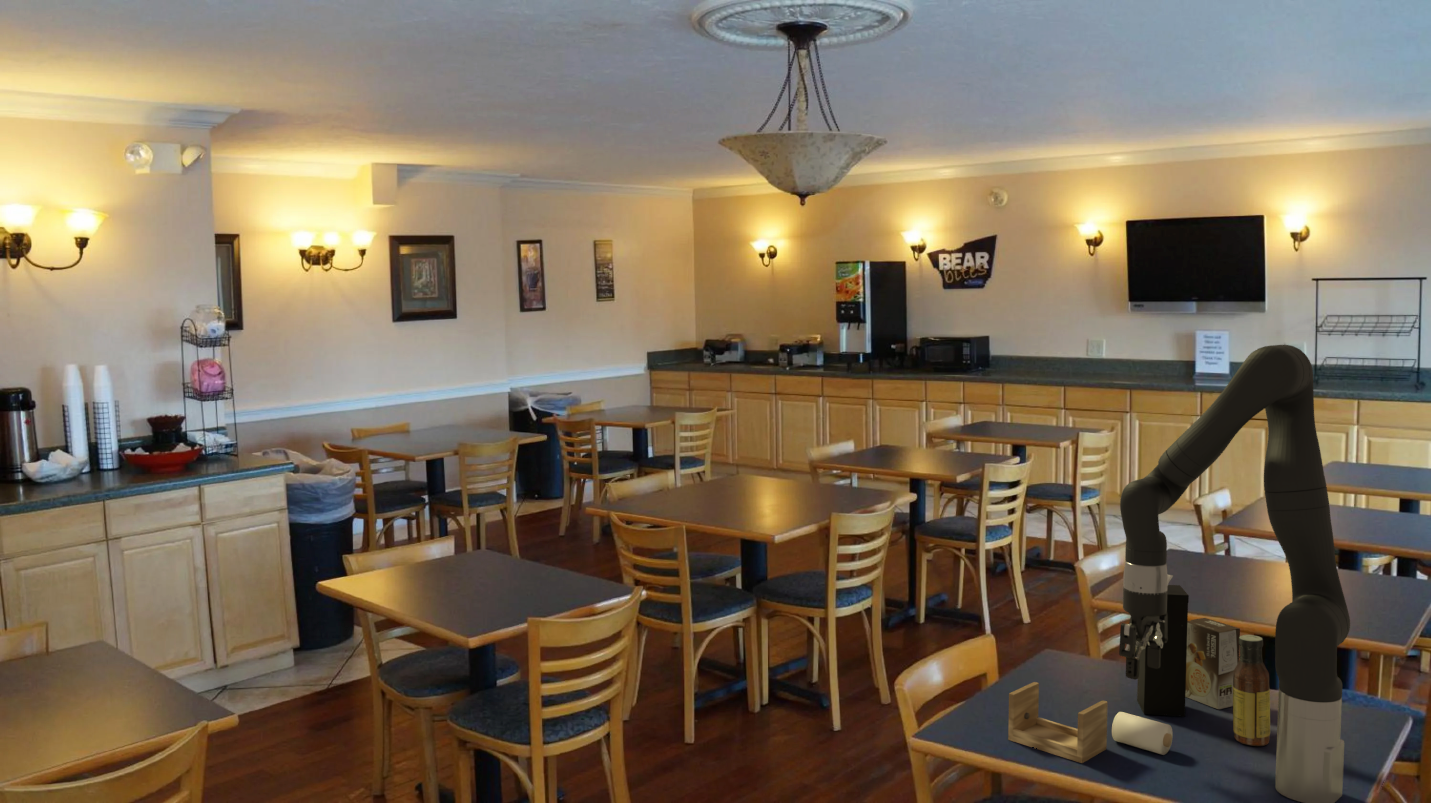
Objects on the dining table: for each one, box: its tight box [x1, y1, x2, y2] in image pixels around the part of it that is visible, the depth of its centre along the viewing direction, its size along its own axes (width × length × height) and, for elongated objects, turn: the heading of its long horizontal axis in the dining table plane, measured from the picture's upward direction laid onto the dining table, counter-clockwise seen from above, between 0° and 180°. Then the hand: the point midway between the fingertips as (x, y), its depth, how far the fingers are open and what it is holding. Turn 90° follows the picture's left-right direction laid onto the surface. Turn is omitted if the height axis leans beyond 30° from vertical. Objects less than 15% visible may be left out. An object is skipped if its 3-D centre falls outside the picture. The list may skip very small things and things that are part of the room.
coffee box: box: [1185, 617, 1241, 710], centre depth 225 cm, size 9×6×16 cm
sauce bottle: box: [1232, 634, 1271, 747], centre depth 204 cm, size 7×6×20 cm
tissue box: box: [1136, 573, 1190, 717], centre depth 220 cm, size 8×8×28 cm
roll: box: [1111, 711, 1174, 756], centre depth 202 cm, size 10×6×6 cm, turn 43°
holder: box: [1007, 681, 1109, 764], centre depth 203 cm, size 15×9×9 cm, turn 43°
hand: (1143, 672), depth 201 cm, fingers open, 8 cm apart
